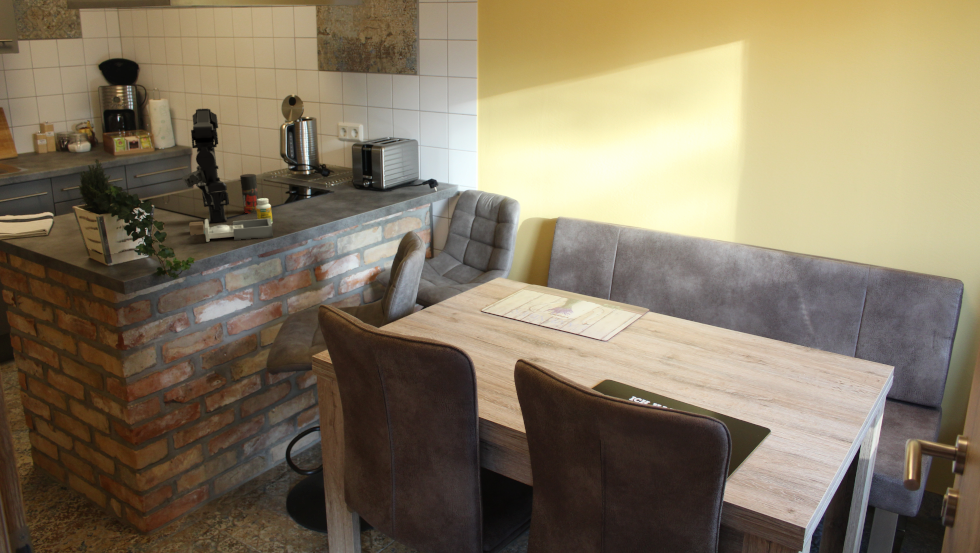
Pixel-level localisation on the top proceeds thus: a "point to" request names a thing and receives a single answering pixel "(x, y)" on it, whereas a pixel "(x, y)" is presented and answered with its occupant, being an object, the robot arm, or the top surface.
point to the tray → (222, 234)
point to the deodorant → (249, 193)
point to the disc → (220, 228)
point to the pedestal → (196, 228)
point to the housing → (253, 229)
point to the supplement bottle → (264, 209)
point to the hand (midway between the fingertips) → (212, 207)
